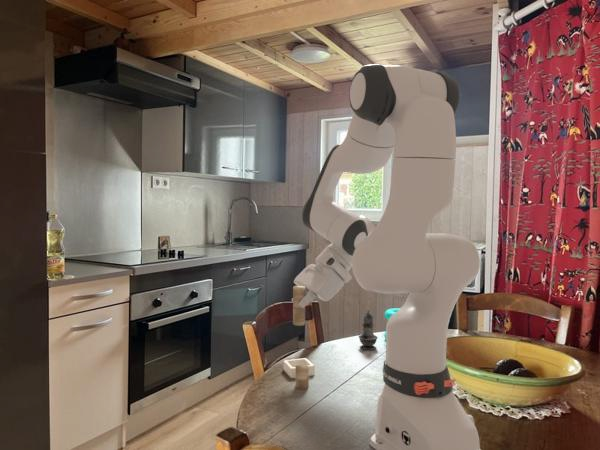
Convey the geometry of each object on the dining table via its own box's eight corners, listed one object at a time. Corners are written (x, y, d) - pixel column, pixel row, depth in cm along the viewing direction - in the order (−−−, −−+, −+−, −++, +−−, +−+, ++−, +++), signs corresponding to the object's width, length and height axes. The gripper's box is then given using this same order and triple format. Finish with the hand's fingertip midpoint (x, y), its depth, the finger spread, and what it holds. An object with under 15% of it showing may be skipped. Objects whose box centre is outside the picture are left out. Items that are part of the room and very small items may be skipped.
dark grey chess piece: (376, 345, 143) (377, 308, 142) (378, 351, 137) (378, 312, 136) (358, 345, 143) (358, 308, 143) (358, 350, 137) (359, 312, 137)
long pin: (306, 325, 118) (306, 287, 117) (295, 326, 116) (295, 288, 116) (302, 322, 121) (302, 285, 120) (291, 323, 120) (291, 286, 119)
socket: (314, 375, 117) (314, 365, 117) (291, 378, 115) (291, 368, 115) (305, 366, 123) (305, 357, 123) (283, 369, 121) (283, 360, 121)
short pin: (310, 388, 108) (310, 368, 108) (298, 390, 107) (298, 369, 107) (305, 383, 111) (305, 364, 111) (293, 385, 110) (293, 365, 110)
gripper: (309, 254, 130) (277, 289, 127) (338, 262, 111) (301, 304, 108) (323, 269, 132) (292, 304, 129) (354, 279, 112) (318, 321, 109)
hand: (296, 304), depth 118 cm, fingers closed on long pin, 3 cm apart
